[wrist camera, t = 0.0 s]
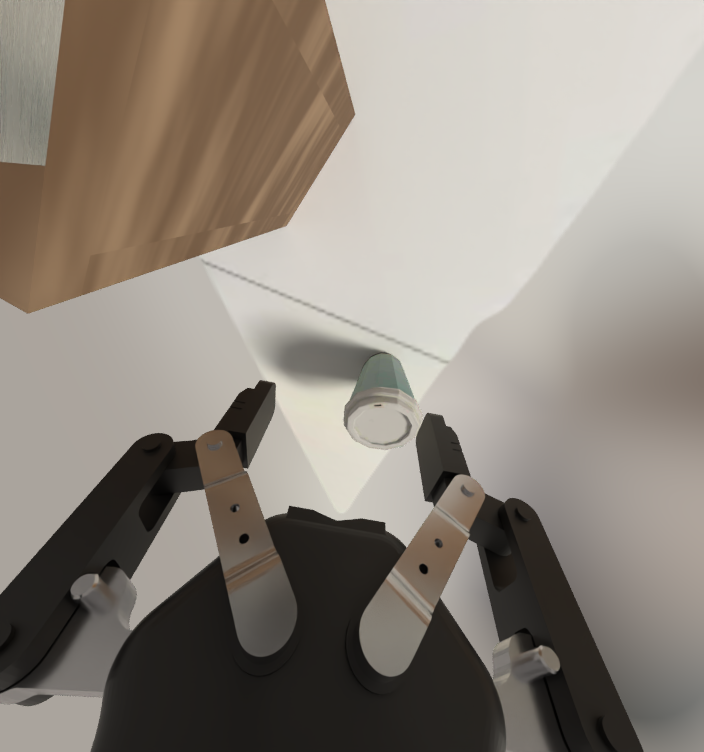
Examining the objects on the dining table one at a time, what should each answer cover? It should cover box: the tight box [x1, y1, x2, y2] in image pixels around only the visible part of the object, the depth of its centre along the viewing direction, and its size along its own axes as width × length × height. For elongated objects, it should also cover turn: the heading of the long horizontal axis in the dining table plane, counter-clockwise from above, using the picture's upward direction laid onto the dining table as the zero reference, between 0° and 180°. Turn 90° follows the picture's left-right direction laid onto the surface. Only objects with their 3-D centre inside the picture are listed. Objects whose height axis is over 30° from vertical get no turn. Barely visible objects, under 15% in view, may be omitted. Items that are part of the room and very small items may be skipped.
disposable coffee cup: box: [344, 353, 423, 450], centre depth 41 cm, size 11×11×15 cm
